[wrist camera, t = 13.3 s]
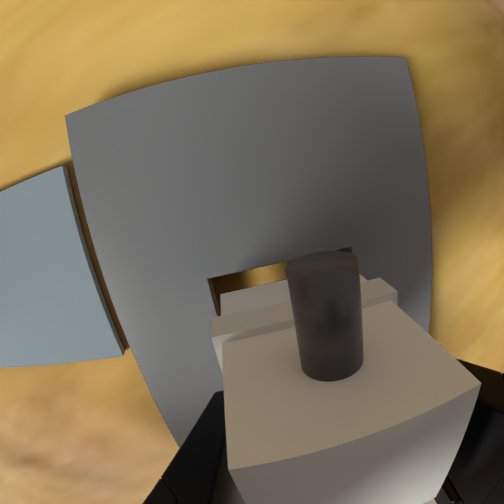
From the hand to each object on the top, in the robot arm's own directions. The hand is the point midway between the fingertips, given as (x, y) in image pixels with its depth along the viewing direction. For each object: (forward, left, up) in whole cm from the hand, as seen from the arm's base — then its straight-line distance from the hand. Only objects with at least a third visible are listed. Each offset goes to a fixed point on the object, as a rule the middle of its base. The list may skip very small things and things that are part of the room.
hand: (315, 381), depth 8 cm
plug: (0, 0, -3) cm, 3 cm away
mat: (+11, -3, -5) cm, 13 cm away
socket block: (0, 0, -5) cm, 5 cm away
